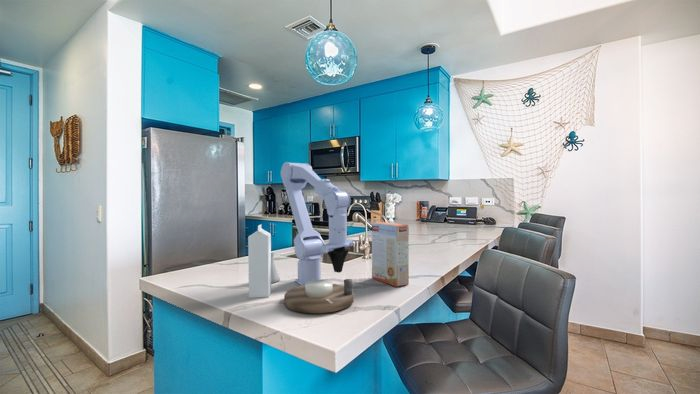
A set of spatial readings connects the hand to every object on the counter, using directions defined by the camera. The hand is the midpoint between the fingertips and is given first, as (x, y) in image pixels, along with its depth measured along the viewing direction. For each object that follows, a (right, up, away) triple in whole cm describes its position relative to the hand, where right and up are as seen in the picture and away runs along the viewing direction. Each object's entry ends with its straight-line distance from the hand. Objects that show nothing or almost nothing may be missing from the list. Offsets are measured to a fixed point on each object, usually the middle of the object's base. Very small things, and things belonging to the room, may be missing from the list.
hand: (337, 271), depth 101 cm
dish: (-5, -5, -8) cm, 11 cm away
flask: (-25, -7, +14) cm, 30 cm away
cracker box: (+18, -7, +13) cm, 23 cm away
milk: (-24, -7, -1) cm, 25 cm away
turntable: (-5, -7, -8) cm, 12 cm away
